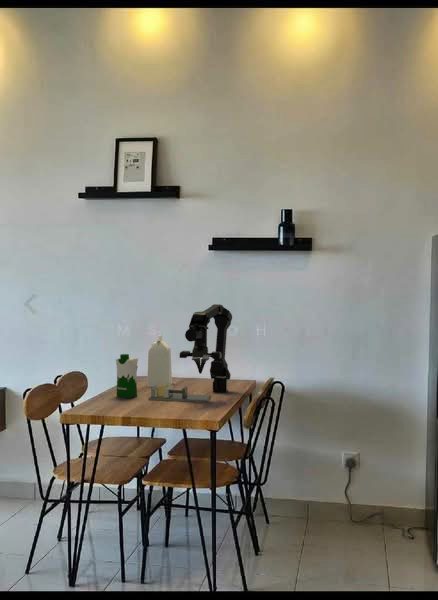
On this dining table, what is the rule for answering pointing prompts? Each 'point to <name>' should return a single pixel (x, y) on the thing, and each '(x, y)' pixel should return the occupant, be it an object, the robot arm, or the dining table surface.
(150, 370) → the milk
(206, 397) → the vise
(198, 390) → the dining table surface
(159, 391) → the block
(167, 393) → the jaw
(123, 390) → the milk carton
